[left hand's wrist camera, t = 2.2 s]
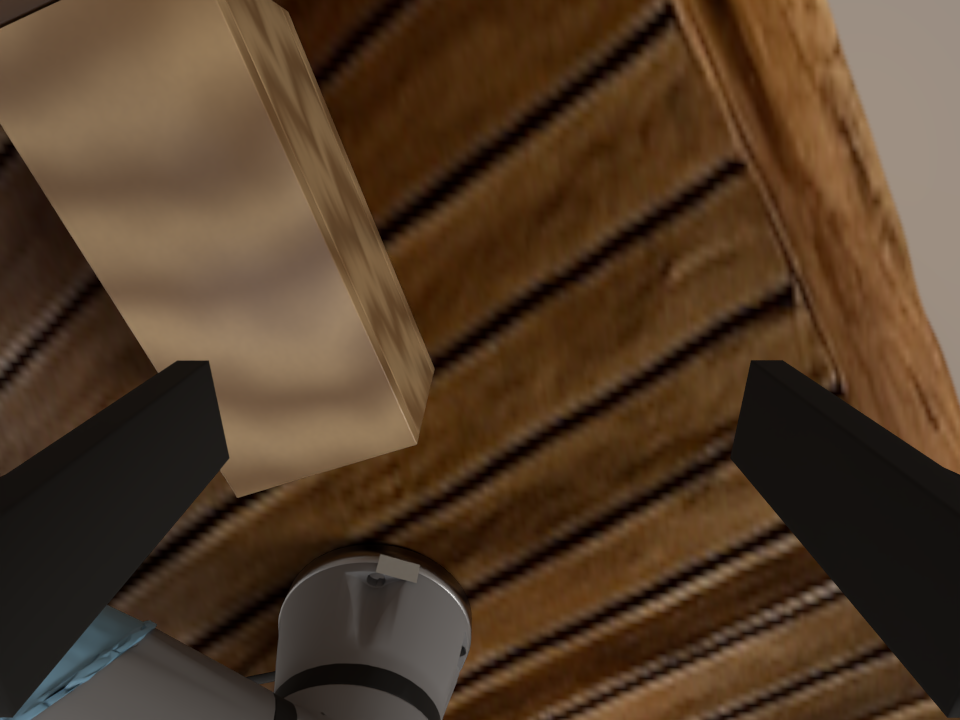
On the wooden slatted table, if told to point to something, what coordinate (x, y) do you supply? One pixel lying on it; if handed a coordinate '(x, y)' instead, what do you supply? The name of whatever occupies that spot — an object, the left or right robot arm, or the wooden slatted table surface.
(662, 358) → the wooden slatted table surface
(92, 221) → the cabinet
